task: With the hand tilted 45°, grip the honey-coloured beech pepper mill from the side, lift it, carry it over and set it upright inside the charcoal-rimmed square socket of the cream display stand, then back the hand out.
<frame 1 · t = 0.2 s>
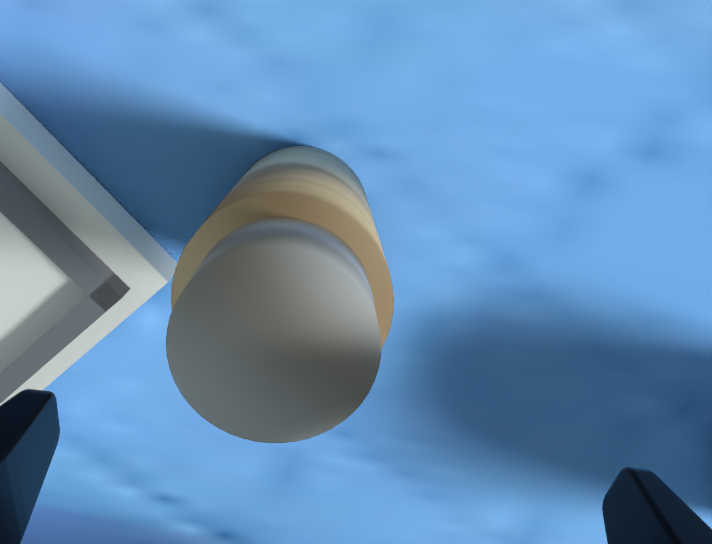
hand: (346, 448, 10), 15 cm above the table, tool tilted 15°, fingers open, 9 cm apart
pepper mill: (301, 213, 24), on the table
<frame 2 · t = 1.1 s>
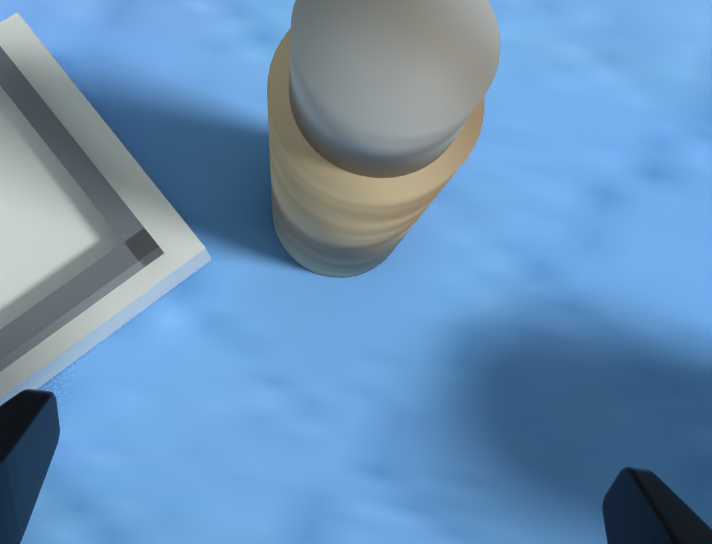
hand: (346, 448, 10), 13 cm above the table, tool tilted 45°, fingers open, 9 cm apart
pepper mill: (338, 212, 24), on the table
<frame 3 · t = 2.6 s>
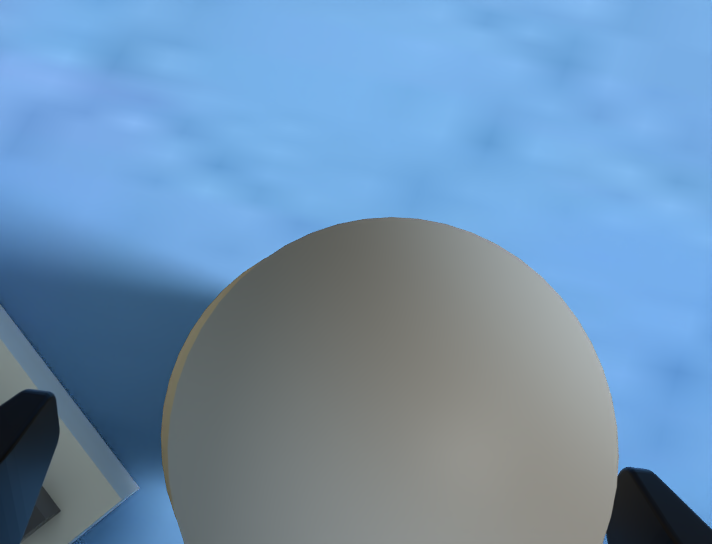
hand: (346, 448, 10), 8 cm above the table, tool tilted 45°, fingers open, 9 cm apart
pepper mill: (317, 411, 18), on the table
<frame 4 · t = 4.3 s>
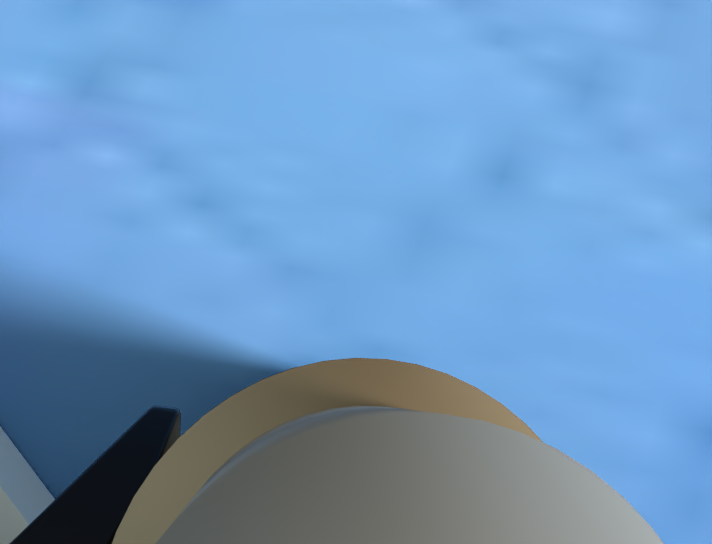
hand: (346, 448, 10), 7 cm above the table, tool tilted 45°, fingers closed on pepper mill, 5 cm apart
pepper mill: (311, 481, 16), on the table, touching gripper
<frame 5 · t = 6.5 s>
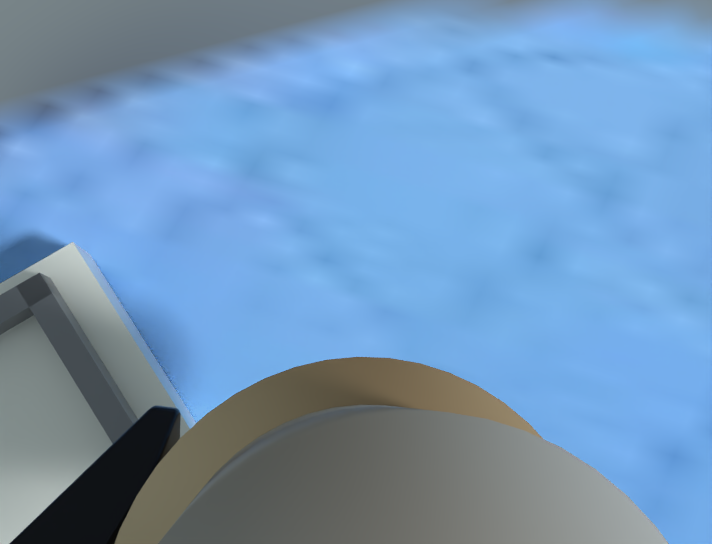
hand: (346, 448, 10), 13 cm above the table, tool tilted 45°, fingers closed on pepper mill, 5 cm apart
display stand: (14, 478, 21), on the table
pepper mill: (312, 481, 16), point 7 cm above the table, touching gripper
when the fingers open (10 cm above the table, at t = 8.9 s): pepper mill drops 1 cm, resting on display stand.
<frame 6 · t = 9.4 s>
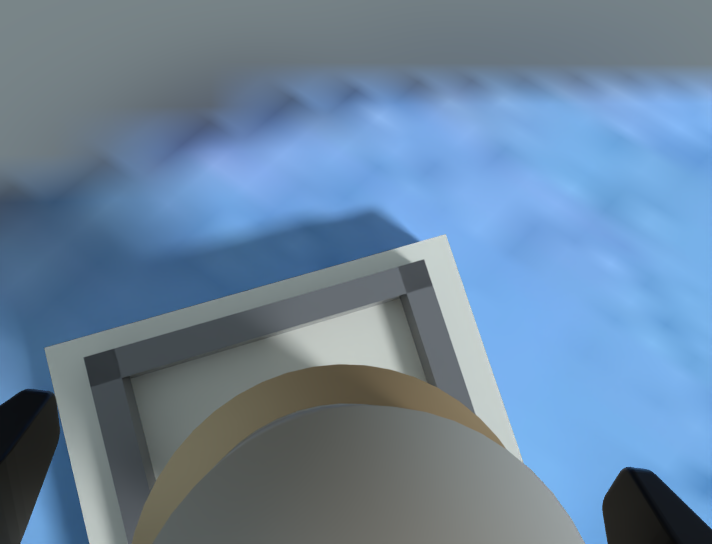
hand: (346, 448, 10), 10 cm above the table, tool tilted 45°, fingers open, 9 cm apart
display stand: (306, 466, 19), on the table
pepper mill: (310, 477, 17), point 2 cm above the table, touching display stand
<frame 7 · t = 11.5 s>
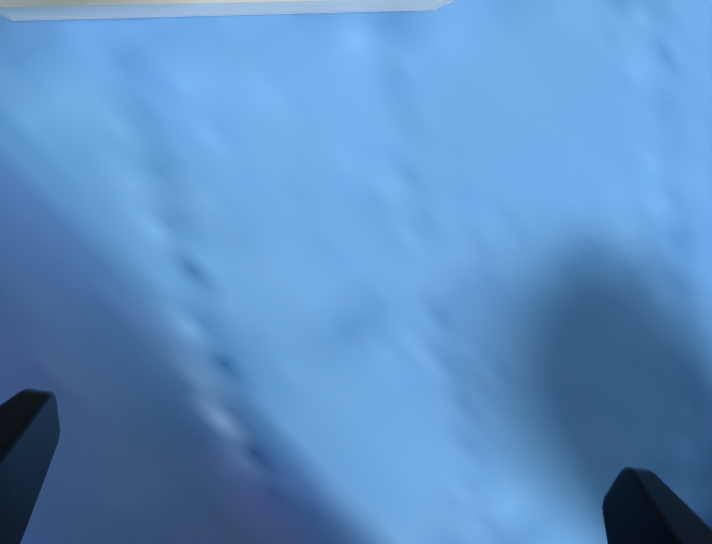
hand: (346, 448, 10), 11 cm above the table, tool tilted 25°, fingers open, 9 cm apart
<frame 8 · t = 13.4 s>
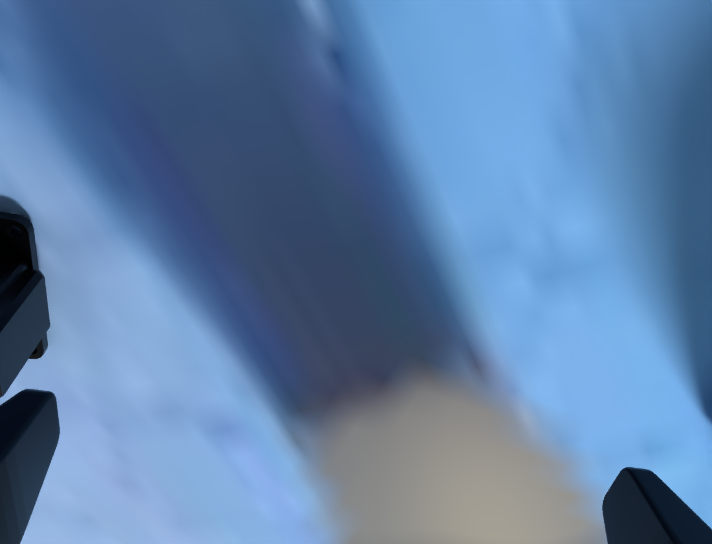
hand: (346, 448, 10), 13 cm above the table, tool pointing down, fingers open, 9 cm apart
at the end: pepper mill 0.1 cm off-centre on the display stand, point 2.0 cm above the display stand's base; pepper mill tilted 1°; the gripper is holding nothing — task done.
